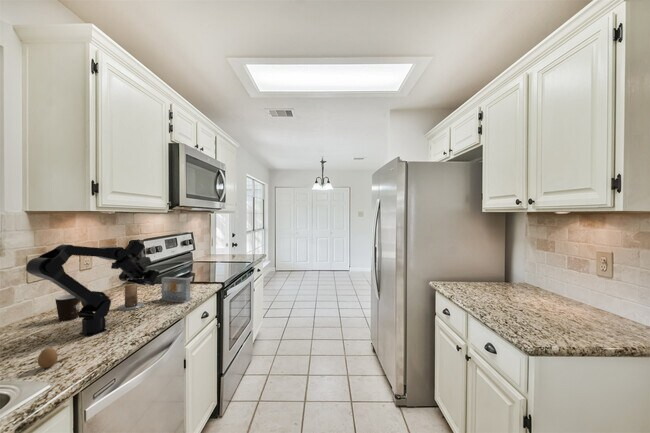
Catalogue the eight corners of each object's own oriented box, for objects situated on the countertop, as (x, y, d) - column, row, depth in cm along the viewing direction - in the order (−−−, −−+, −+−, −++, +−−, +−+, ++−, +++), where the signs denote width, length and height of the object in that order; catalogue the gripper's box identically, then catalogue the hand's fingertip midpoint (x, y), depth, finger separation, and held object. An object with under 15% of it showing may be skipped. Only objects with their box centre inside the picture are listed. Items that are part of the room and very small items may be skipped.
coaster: (127, 311, 137) (127, 310, 137) (112, 308, 141) (112, 307, 141) (149, 305, 147) (149, 303, 147) (134, 302, 151) (134, 301, 151)
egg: (42, 372, 85) (42, 352, 85) (34, 369, 87) (34, 349, 86) (61, 365, 89) (60, 346, 89) (53, 362, 91) (52, 343, 91)
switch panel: (184, 302, 150) (184, 280, 150) (159, 300, 154) (159, 278, 154) (192, 299, 156) (192, 277, 156) (168, 297, 160) (168, 276, 160)
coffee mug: (65, 323, 123) (65, 300, 122) (50, 321, 124) (49, 298, 124) (92, 313, 134) (92, 292, 134) (78, 312, 136) (77, 291, 136)
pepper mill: (133, 307, 141) (133, 275, 141) (122, 307, 141) (122, 275, 141) (139, 304, 146) (139, 273, 146) (129, 304, 146) (128, 273, 146)
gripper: (156, 252, 131) (174, 271, 142) (124, 251, 136) (144, 269, 147) (141, 273, 124) (161, 291, 135) (108, 270, 128) (130, 288, 139)
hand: (149, 284), depth 139 cm, fingers open, 5 cm apart
